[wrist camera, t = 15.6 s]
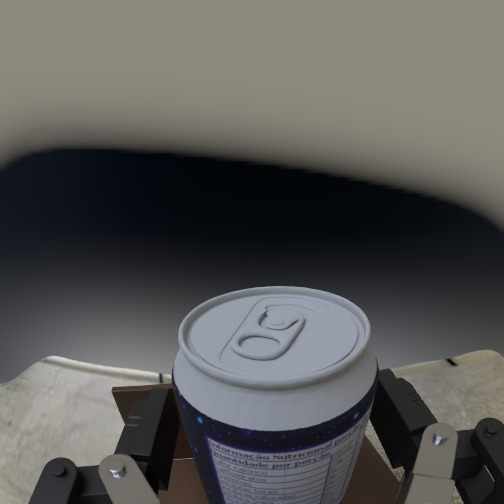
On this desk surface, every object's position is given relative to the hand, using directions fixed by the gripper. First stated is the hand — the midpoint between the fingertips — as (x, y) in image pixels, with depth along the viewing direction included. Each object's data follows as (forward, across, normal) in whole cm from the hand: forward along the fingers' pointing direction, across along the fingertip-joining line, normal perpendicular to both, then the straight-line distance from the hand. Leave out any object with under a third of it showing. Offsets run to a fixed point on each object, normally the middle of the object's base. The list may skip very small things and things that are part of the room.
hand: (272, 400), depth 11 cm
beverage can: (-2, 0, +8) cm, 8 cm away
